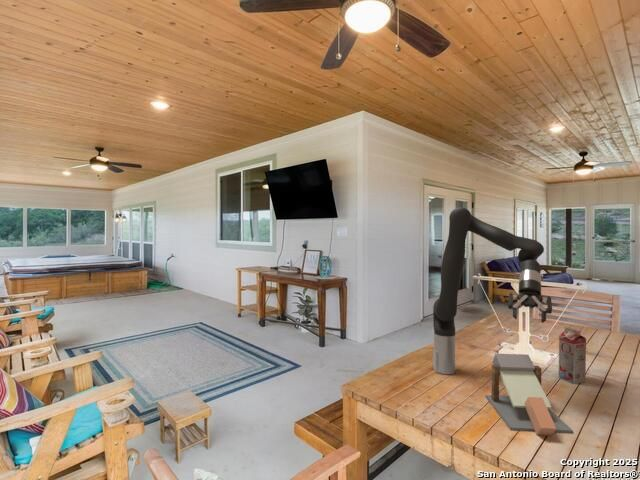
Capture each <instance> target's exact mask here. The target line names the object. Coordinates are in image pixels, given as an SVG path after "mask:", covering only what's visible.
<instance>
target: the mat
mask: <svg viewBox="0 0 640 480" xmlns="http://www.w3.org/2000/svg"><path fill="white" fill-rule="evenodd" d="M484 397H485V398H486V399H487V401H488V403H489V404H490V405H491V406H492V407H493V409H494V411H496V413H497V414H498V415H499V417H500V418H501V419H502V421H503V422H504V424H505V425H506V426H507V427H508V428H509V430H510V431H522V432H535V430H534V427H533V425H532V422H531V420H530V417H529V415H528V412H527V410H526V408H518V407H513V405H512V403H511V400H510V398H509V395H501V394H499V402H494V401H493V400H492V399H491V394H485V396H484ZM548 411H549V413H550V416H551V418H552V420H553V422H554V424H555V427H556V430H555V431H554V433H565V434H573V433H574V430H573V429H572V428H571V427H570V426H569V425H568V424H567V423H566V422H565V421H563V420H562V419H561V418H560V417H559V416H558V415H557V414H556V413H555V412H554V411H553V410H552V408H551V409H548Z"/></svg>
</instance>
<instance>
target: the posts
mask: <svg viewBox="0 0 640 480" xmlns="http://www.w3.org/2000/svg"><path fill="white" fill-rule="evenodd" d="M534 367H535V369H534V373H535V375H536V377H537V379H538V381H539V383H540V385H541V386H542V371H543V370H542V367H540V366H539V365H534ZM490 393H491V394H490V395H491V399H492V400H493V401H494V402H499V395H500V375H499V366H498V365H495V364H493V363H492V364H491V392H490Z"/></svg>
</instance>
